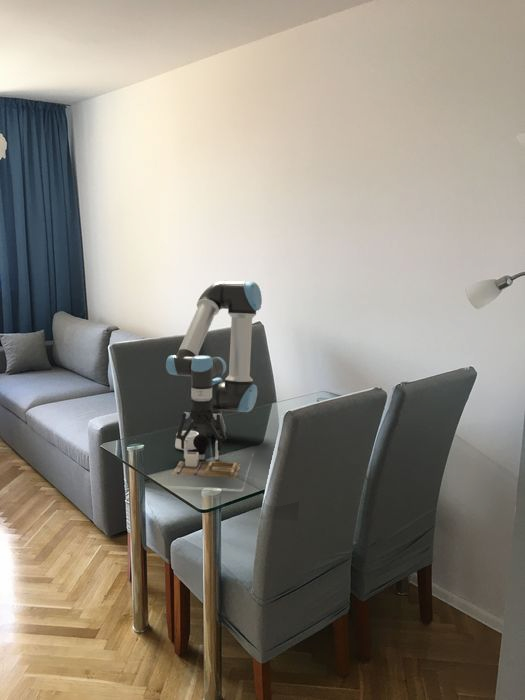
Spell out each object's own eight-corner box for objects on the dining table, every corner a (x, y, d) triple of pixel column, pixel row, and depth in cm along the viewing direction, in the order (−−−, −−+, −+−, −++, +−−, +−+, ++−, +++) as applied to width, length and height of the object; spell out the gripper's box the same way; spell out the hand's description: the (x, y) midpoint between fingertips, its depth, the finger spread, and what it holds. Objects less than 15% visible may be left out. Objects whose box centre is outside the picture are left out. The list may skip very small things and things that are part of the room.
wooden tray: (180, 463, 215) (180, 457, 214) (240, 466, 213) (240, 460, 213) (171, 476, 201) (171, 471, 200) (236, 479, 199) (236, 474, 199)
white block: (187, 462, 213) (187, 450, 212) (198, 463, 212) (198, 450, 212) (185, 466, 209) (185, 453, 208) (196, 466, 208) (196, 454, 208)
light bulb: (190, 461, 216) (190, 435, 215) (197, 457, 222) (197, 431, 220) (204, 464, 214) (205, 437, 213) (212, 459, 220) (212, 433, 218)
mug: (179, 444, 238) (179, 429, 237) (202, 445, 237) (202, 430, 236) (170, 453, 226) (170, 437, 225) (195, 454, 225) (195, 439, 224)
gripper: (167, 400, 212) (167, 459, 215) (232, 402, 210) (231, 462, 213) (172, 395, 219) (172, 453, 222) (235, 397, 218) (234, 456, 221)
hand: (201, 458), depth 218 cm, fingers open, 11 cm apart
